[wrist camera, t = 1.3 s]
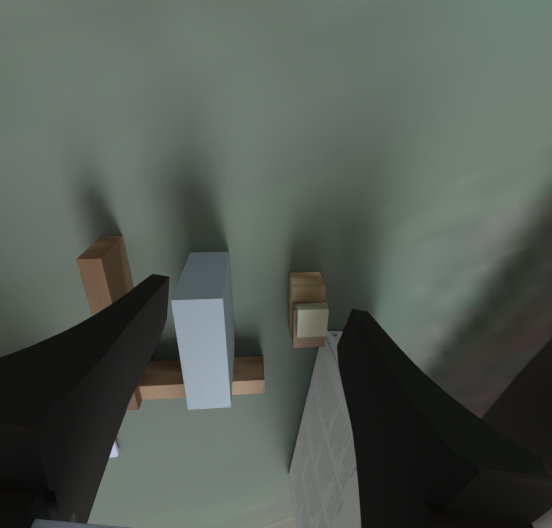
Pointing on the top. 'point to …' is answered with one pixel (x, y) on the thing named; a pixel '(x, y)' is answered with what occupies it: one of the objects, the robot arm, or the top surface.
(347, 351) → the robot arm
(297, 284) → the offcut stack
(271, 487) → the top surface
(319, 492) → the skincare box
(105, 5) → the top surface
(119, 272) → the brown wooden l-shape
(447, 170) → the top surface
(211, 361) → the light blue block
